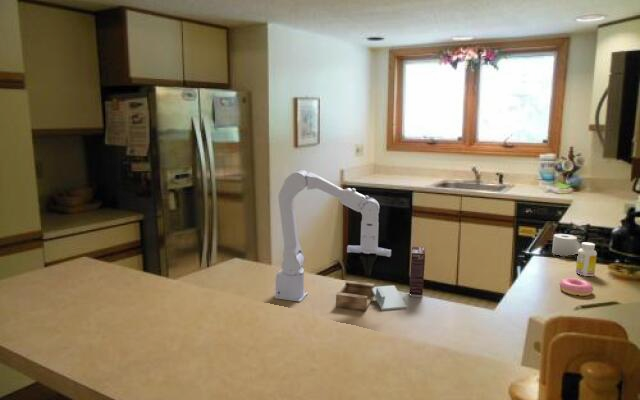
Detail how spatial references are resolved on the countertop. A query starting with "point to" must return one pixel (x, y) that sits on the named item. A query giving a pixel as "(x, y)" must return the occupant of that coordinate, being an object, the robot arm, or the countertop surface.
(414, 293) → the supplement box
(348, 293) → the box
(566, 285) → the doughnut
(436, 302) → the countertop surface
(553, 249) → the toilet tissue
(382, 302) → the lid
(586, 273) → the supplement bottle
